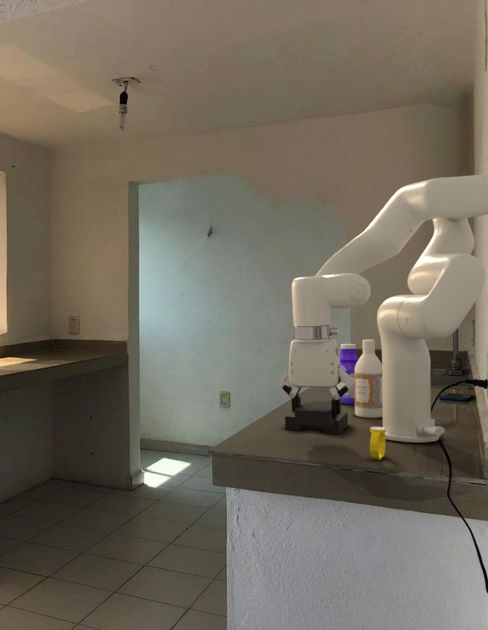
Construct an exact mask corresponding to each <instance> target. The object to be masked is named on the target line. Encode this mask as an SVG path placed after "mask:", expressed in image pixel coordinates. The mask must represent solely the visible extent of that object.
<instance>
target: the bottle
mask: <svg viewBox="0 0 488 630" xmlns="http://www.w3.org/2000/svg"><path fill="white" fill-rule="evenodd" d="M357 353H358V352H357V344H356V343H355V344H354V343H341V344H340V352H339V359H340V367H341V369H342V370H343V371H344V372H346V373H347V374H348V375H350V376H351V377H352V378H353V379H355V373H354V372H355V366H356V363H357V361H358V360H359V358H360V357H358V354H357ZM345 384H346V381H345V380H343V379H342V378H341V382H340V383H339V384H337V387H338V388H339V390H340V389H341V388H343V386H344V385H345ZM340 401H341V404H344V405H349V406H351V405H352V406H353V405H355V383H354V385H353V386H352V387H351V388H350V389H349V390H348V391H347V392H346V393H345V394H344V395H343V396H342V397H341V398H340Z"/></svg>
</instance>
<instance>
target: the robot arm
mask: <svg viewBox="0 0 488 630" xmlns="http://www.w3.org/2000/svg"><path fill="white" fill-rule="evenodd" d="M481 216H488V174H475V175H474V174H472V175H461V176H448V177H435V178H430V179H426V180H422V181H418V182H414V183H409V184H406V185H404V186H402V187H401V188H399V189H397V190H396V192H395V193H394V194H393V195H392V196H391V198H389V200H388V201H387V202H386V204H385V205H384V206H383V207H382V209H381V210H380V211H379V212H378V214H376V216H375V217H374V218H373V220H372V221H371V222H370V223H369V225H368V226H366V228H365V230H364V231H362V232H361V233H360V234H359V235H357V236H356V237H355V238H353V239H352V240H350V242H348V243H347V244H345V245H344V246H343V247H342V248H341V249H339V250H338V251H336V252H335V253H334V254H333V255H332V256H331V257H330V258H328V260H327V261H326V262H325V263H324V264H323V265H322V266H321V268H320V269H319V271H318V272H317V273H316V274H315V275H314V276H300V277H296V278H294V279H293V280H292V282H291V302H292V306H291V307H292V325H293V340H291V342H290V346H289V357H288V369H287V370H285V371H284V372H283V373H282V374H281V375H279V376H278V377H277V378H275V382H276V383H277V384H278V386H279V387H281V388H282V390H283V391H284V392H285V394H286V395H288V396H289V398H290V399H291V412H294V410H295V409H296V408H298V407H299V406H300V405H302V400H301V399H302V398H301V396H300V394H299V393H300V391H301V389H302V388H322V389H323V388H325V389H326V388H327V389H328V391H329V392H330V395H331V396H332V399H331V400H330V401H331V404H332V418H333V419H336V418H337V417H338V414H341V412H342V403H341V401H340V398H341V397H342V396H343V395H344V394H345V393H346V392H347V391H348V390H349V389H350V388H351V387H352V386H353V385H354V383H355V382H356V381H355V379H353V378H352V377H351V376H350V375H348V374H347V373H346V372H344V371H343V370H342V369H341V367H340V359H339V356H340V352H339V347H338V344H337V340H336V339H332V338H333V337H334V336H335V335H339V332H340V331H339V330H340V329H339V328H338V327H337V328H335V327H334V326H333V325H332V319H331V318H332V317H331V309H356V308H359V307H361V306H362V305H365V304H366V302H367V301H368V300H369V298H370V296H371V292H372V291H371V284H370V283H369V281H368V280H367V279H366V278H365V277H364V276H362V275H360V274H362V273H364V272H365V271H367V270H369V269H371V268H372V267H375V266H378V265H379V264H382V263H384V262H387V261H388V260H390V259H392V258H393V257H396V256H397V255H398V254H399V253H400V252H401V251H402V250H403V248H404V247H406V245H407V243H408V242H409V241H410V239H412V237H413V236H414V234H415V233H416V232H417V231H418V229H420V227H421V226H422V224H424V223H425V222H427V221H430V220H432V223H433V235H432V237H431V239H430V241H429V242H428V244H427V246H426V248H425V249H424V250H423V252H422V253H421V255H420V256H419V258H418V259H417V261H416V262H415V264H414V265H413V267H412V268H411V270H410V272H409V274H408V276H407V287H408V290H409V292H411V293H412V294H399V295H397V294H396V295H394V296H391V297H389V298H387V299H385V300H384V301H383V302H382V303H381V304H380V305H379V307H378V309H377V313H376V323H377V329H378V333H379V339H380V345H381V364H382V393H383V417H382V427H383V428H385V429H386V432H385V438H386V441H387V440H388V441H394V442H400V443H415V444H417V443H432V442H437V441H439V439H440V437H441V436H442V434H444V433H445V431H446V429H445V427H443V426H439V425H436V419H434V418H432V408H431V407H432V406H431V404H432V403H431V402H432V401H431V400H432V399H431V398H432V396H431V395H432V394H431V392H432V390H431V389H432V388H431V386H432V385H431V355H430V351H429V348H428V345H427V342H426V341H427V340H428V341H439V340H440V341H441V340H444V339H446V338H448V337H450V336H452V335H453V334H454V333H455V332H456V330H457V329H459V327H460V325H461V324H462V323H463V321H464V320H465V318H466V316H467V315H468V313H469V312H470V310H471V308H472V307H473V306H474V304H475V303H476V301H477V300H478V298H479V296H481V295H480V294H482V291H483V289H484V287H485V283H486V270H485V266H484V264H483V262H481V260H480V259H479V258H478V257H476V256H474V255H472V253H473V250H474V248H475V235H474V233H473V231H472V228H471V226H470V222H469V220H468V219H469V218H474V217H481ZM341 378H342V379H343V380H345V381H346V384H345V385H344V386H343V388H341V389H340V390H339V388H338V387H337V384H339V383H340V382H341ZM286 379H288V382H289V384H290V385H289V384H288V383H287V381H286Z"/></svg>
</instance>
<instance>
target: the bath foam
mask: <svg viewBox="0 0 488 630" xmlns="http://www.w3.org/2000/svg"><path fill="white" fill-rule="evenodd" d="M358 358H359V360H358V361H357V363H356V366H355V372H354V373H355V381H356V382H355V404H354V414H355V416H357V417H359V418H363V419H364V418H365V419H380V418H383V393H382V361H381V360H380V359H379V357H378V356H377V355H376V341H375V339H362V354H361V355H360V356H359V357H358Z"/></svg>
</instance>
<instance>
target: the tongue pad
mask: <svg viewBox="0 0 488 630" xmlns="http://www.w3.org/2000/svg"><path fill="white" fill-rule="evenodd" d="M294 414H295V425H307V426H325V427H330V426H331V425H332V424H333V423H334V422H335V421H336V420H337V419H338V417H337V418H336V419H333V418H332V404H331V400H330V401H329V400H328V401H327V400H313V401H312V402H302V403H301V405H300V406H299V407H298V408H296V409H295V410H294Z"/></svg>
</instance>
